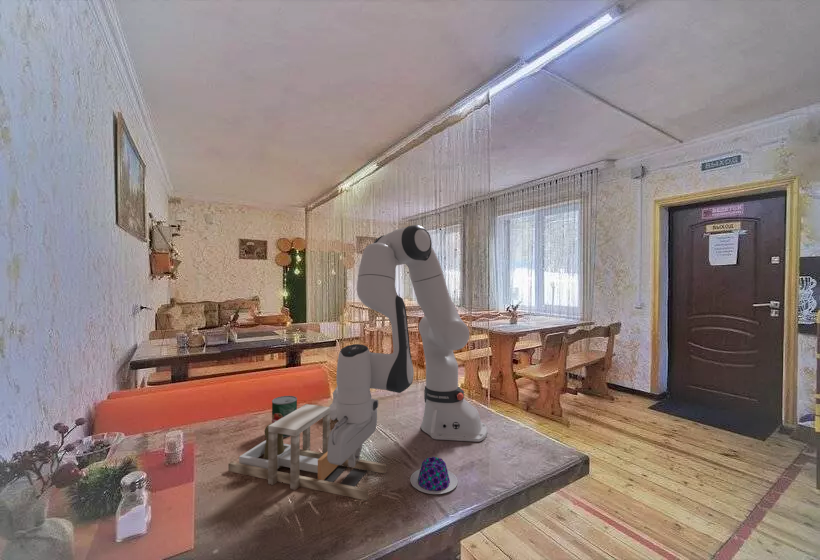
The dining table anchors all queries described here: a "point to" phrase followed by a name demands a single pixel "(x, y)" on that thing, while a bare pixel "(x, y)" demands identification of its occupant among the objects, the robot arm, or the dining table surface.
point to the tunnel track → (294, 426)
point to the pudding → (433, 477)
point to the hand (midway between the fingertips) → (354, 464)
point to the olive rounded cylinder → (279, 444)
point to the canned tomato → (283, 408)
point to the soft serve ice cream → (333, 405)
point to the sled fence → (288, 461)
